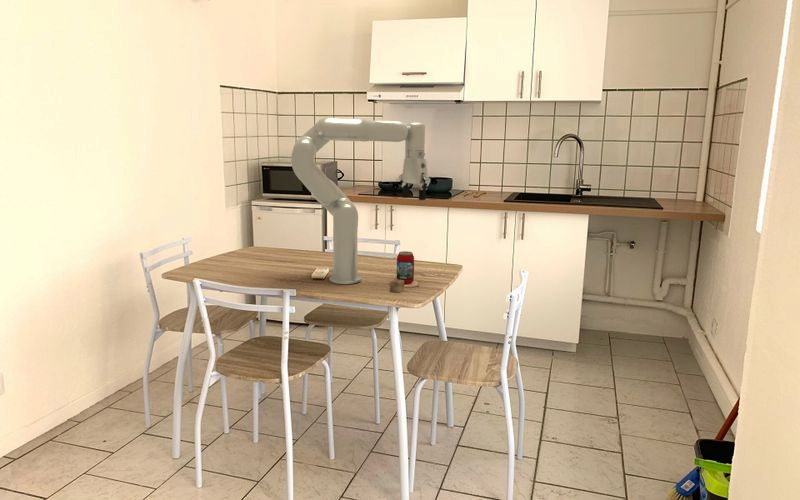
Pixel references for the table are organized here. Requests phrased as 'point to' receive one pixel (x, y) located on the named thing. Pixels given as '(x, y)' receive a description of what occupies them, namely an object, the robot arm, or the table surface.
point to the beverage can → (405, 267)
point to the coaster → (411, 284)
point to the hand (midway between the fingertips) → (413, 198)
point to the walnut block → (396, 285)
